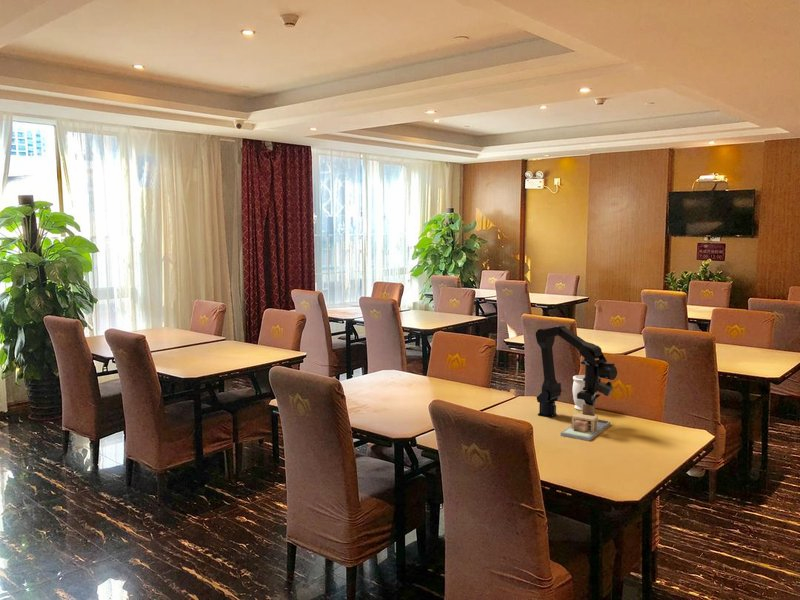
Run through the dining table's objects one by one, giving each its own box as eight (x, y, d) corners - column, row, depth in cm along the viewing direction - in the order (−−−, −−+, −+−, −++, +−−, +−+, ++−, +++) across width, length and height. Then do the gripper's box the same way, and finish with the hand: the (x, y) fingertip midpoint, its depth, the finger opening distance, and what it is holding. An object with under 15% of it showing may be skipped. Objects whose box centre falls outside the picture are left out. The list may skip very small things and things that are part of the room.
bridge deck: (560, 435, 265) (560, 420, 264) (583, 419, 286) (583, 405, 285) (589, 441, 258) (589, 425, 257) (610, 424, 279) (610, 410, 278)
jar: (597, 411, 298) (598, 379, 296) (575, 411, 298) (576, 380, 296) (591, 405, 309) (592, 374, 307) (569, 405, 309) (570, 374, 307)
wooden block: (573, 430, 267) (574, 410, 266) (583, 423, 276) (583, 403, 275) (584, 432, 264) (585, 411, 263) (594, 425, 273) (594, 405, 272)
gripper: (603, 382, 262) (602, 420, 263) (617, 373, 277) (616, 409, 279) (576, 379, 268) (575, 415, 270) (592, 370, 283) (591, 405, 285)
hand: (590, 411), depth 276 cm, fingers closed
